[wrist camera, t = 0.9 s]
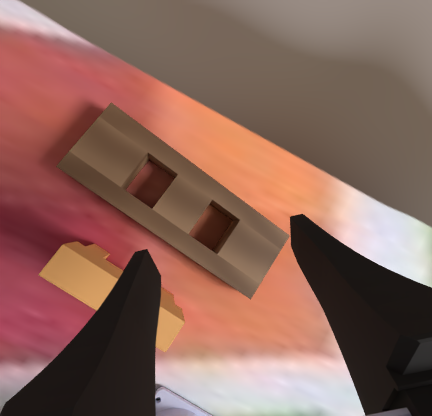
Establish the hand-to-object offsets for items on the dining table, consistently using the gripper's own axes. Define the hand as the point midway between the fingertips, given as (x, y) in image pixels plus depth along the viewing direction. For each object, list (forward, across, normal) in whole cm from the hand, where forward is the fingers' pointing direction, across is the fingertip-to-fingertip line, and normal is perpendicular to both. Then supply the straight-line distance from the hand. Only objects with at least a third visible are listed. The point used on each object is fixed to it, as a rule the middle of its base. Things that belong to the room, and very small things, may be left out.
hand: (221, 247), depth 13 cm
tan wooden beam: (+7, +10, +8) cm, 14 cm away
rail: (+11, +4, +5) cm, 13 cm away
